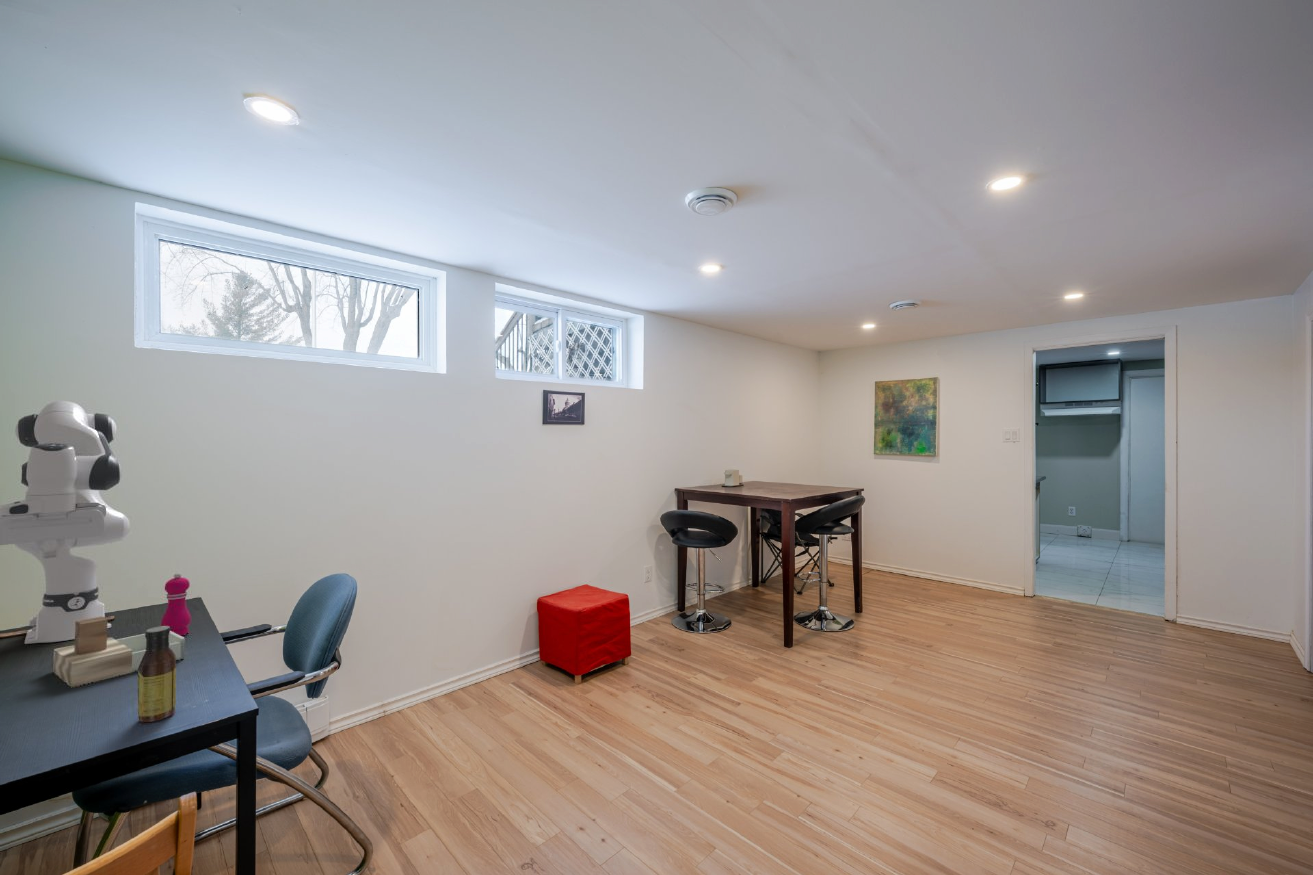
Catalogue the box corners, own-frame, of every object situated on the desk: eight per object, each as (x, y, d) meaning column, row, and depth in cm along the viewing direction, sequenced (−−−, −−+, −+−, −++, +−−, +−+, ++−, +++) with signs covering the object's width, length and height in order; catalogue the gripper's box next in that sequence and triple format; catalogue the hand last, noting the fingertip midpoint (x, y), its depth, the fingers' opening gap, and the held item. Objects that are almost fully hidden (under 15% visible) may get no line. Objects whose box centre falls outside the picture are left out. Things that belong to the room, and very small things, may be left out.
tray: (110, 658, 152) (111, 637, 152) (161, 646, 161) (161, 626, 161) (131, 672, 142) (132, 650, 142) (184, 659, 151) (184, 637, 152)
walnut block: (74, 651, 141) (75, 620, 141) (100, 645, 145) (101, 616, 146) (79, 655, 138) (80, 624, 139) (106, 649, 143) (107, 619, 143)
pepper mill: (172, 640, 166) (174, 576, 167) (154, 638, 168) (156, 574, 168) (196, 632, 174) (198, 571, 174) (178, 630, 175) (180, 569, 176)
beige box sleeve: (53, 671, 142) (53, 649, 142) (110, 658, 152) (111, 637, 152) (71, 688, 133) (72, 663, 133) (131, 672, 142) (132, 650, 142)
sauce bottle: (153, 710, 121) (156, 623, 122) (183, 710, 122) (185, 622, 123) (127, 725, 115) (131, 633, 116) (158, 724, 115) (162, 632, 116)
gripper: (103, 501, 150) (101, 550, 150) (-12, 507, 133) (-14, 563, 133) (109, 502, 147) (108, 552, 147) (-8, 509, 130) (-10, 566, 129)
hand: (49, 557), depth 140 cm, fingers closed
